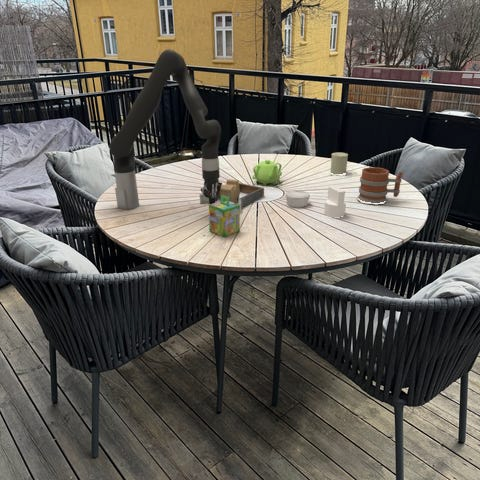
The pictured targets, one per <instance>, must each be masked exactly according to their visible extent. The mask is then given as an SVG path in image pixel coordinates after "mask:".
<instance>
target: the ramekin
mask: <svg viewBox="0 0 480 480" xmlns="http://www.w3.org/2000/svg"><path fill="white" fill-rule="evenodd" d="M310 196H311V194H310V193H309V192H307V191H304V190H290V191H287V192H286V193H285V198H286V204H287V205H288V206H289V207H291V206H292V207H291V208H296V207H300V208H304V207H303V206H305V207H307V205H308V204H309V200H310Z"/></svg>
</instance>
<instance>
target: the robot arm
mask: <svg viewBox="0 0 480 480" xmlns="http://www.w3.org/2000/svg"><path fill="white" fill-rule="evenodd" d="M170 77H172V78H173V79H174V81H175V82H176V83H177V85H178V87H179V89H180V92H181V94H182V97H183V100H184V104H185V106H186V108H187V109H188V111H189V113H190V115H191V117H192V121H193V125H194V127H195V132H196V133H197V135H198V136H199V138H201V139H203V140H206V142H204V143H203V144H202V145H201V171H202V179H203V180H204V182H203V187H201V188H200V191H201V194H204V196H205V197H207V198H209V203H208V206H209V205H210V204H213V203H216V201H215V197H216V195H218V194H219V191H220V188H221V186H222V185H223V182H221V181H220V180H219V179H220V177H221V175H220V161H219V160H220V159H219V144H220V140H221V134H222V128H221V124H220V123H219V121H218V120H216V119H211V120H210V119H208V120H206V118H205V117H206V116H207V115H208V108H207V106H206V104H205V102H204V100H203V99H202V97H201V95H200V94H199V91H198V89H197V88H196V86H195V84H194V82H193V80H192V77H191V74H190V72H189V70H188V66H187V63H186V61H185V58H184V57H183V55H181V54H179V53H178V52H177V51H175V50H174V49H170V48H169V49H165V50H163V51H162V52H161V53H160V55H159V57H157V59H156V62H155V64H154V66H153V69H152V71H151V73H150V75H149V77H148V78H147V81H146V82H145V84H144V85H143V87H142V89H141V91H140V93H138V96H137V97H136V99H135V100H134V102H133V104H132V105H131V108H130V110H129V111H128V114H127V116H126V117H125V120H124V123H123V125H122V126H121V128H120V129H119V131H118V132H117V133H116V134H115V136H114V137H113V138H112V139H111V140H110V142H109V152H110V153H111V155H112V156H113V172H114V179H115V185H116V187H115V188H114V190H115V198H116V205H117V208H119V209H123V210H131V209H135V208H138V207H139V206H140V203H139V202H140V200H139V193H138V191H139V190H138V183H137V176H136V168H135V163H136V161H135V154H134V153H135V152H134V150H135V149H134V143H135V141H136V139H137V138H138V136H139V134H140V133H141V131H143V129H144V128H145V127H146V125H147V124H148V123H149V122H150V120H151V119H152V117H153V116H154V114H155V113H156V111H157V109H158V108H159V105H160V103H161V97H162V92H163V89H164V87H165V84H166V83H167V81H168V79H169V78H170Z"/></svg>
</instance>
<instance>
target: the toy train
mask: <svg viewBox="0 0 480 480" xmlns="http://www.w3.org/2000/svg"><path fill="white" fill-rule="evenodd" d="M239 181H240V180H239V179H231V178H229V179H228V178H227V179H226V183H225V184H222V186H221V188H220V191H219V192H220V199H219V201H221V196H222V195H224V196H227V197H230V201H231V202H233V203H236V204H237V201H239V198H240V194H241V192H240V189H239V183H240V182H239ZM223 200H226V199H223Z"/></svg>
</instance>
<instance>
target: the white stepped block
mask: <svg viewBox="0 0 480 480" xmlns="http://www.w3.org/2000/svg"><path fill="white" fill-rule="evenodd" d="M327 189H328V190H327V199H326V200H325V201H324V210H323V215H324V214H325V215H327V216H330V217H341V216H344V215H346V205H347V202H346V200H345V195H346V191H345V190H343V189H342V188H339V186H336V185H328V188H327ZM325 215H324V216H325ZM344 217H345V216H344Z"/></svg>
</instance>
